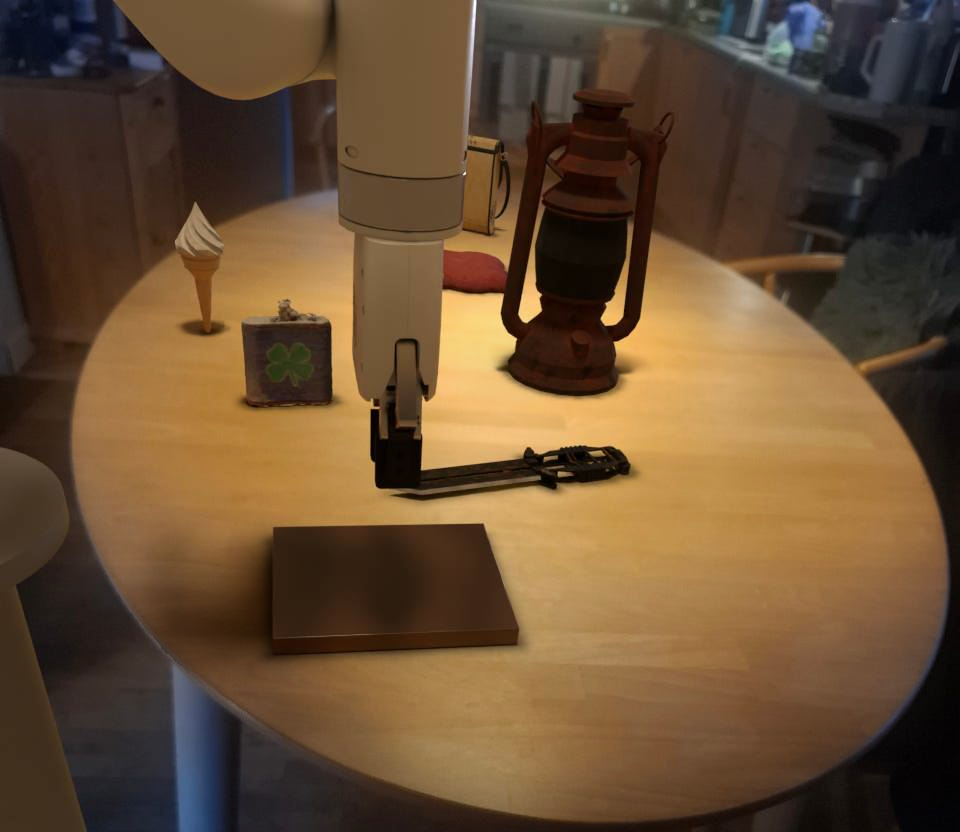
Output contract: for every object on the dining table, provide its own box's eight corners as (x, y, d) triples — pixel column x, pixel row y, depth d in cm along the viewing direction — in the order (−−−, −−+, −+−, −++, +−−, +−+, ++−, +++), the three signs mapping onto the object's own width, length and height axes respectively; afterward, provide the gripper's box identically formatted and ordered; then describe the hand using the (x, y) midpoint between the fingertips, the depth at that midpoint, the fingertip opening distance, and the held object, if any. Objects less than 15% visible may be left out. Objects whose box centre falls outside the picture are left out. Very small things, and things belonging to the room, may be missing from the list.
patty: (519, 295, 133) (520, 281, 131) (427, 291, 130) (427, 277, 129) (499, 260, 146) (501, 247, 145) (415, 256, 144) (416, 243, 142)
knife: (394, 503, 82) (394, 489, 81) (378, 470, 87) (378, 457, 86) (638, 482, 89) (641, 470, 89) (611, 452, 94) (614, 440, 93)
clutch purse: (512, 230, 161) (521, 137, 152) (496, 238, 156) (505, 143, 147) (369, 200, 170) (370, 110, 160) (350, 207, 164) (350, 114, 155)
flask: (247, 407, 95) (240, 305, 88) (245, 396, 97) (238, 296, 90) (334, 405, 97) (333, 306, 91) (330, 394, 99) (329, 296, 93)
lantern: (505, 394, 103) (539, 96, 85) (484, 350, 114) (510, 76, 95) (646, 396, 107) (708, 109, 88) (612, 352, 117) (661, 88, 99)
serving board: (273, 654, 64) (272, 638, 63) (273, 541, 75) (272, 526, 74) (517, 644, 67) (519, 628, 66) (482, 537, 79) (483, 523, 78)
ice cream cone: (176, 328, 110) (160, 197, 101) (217, 321, 114) (205, 193, 104) (199, 343, 107) (184, 209, 98) (240, 335, 111) (230, 204, 101)
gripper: (331, 166, 59) (336, 424, 70) (346, 234, 46) (349, 535, 58) (443, 172, 60) (430, 424, 72) (487, 240, 48) (463, 532, 59)
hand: (394, 471), depth 65 cm, fingers open, 3 cm apart
